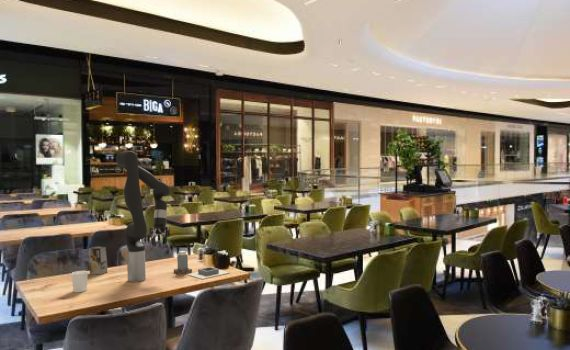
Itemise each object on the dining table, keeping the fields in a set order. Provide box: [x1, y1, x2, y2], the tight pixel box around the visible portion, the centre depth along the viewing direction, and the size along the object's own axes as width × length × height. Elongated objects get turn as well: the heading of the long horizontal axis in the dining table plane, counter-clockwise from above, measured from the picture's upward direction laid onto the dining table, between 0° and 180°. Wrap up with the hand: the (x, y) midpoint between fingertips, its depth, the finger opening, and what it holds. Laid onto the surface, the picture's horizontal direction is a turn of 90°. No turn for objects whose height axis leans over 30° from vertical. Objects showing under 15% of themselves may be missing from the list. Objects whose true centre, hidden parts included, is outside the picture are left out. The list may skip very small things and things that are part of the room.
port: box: [186, 266, 231, 280], centre depth 284 cm, size 20×16×3 cm
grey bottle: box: [176, 250, 189, 271], centre depth 290 cm, size 4×4×13 cm
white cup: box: [71, 270, 88, 293], centre depth 253 cm, size 8×8×10 cm
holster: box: [173, 267, 193, 275], centre depth 290 cm, size 8×8×2 cm
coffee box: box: [88, 246, 108, 275], centre depth 294 cm, size 9×6×16 cm
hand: (158, 244), depth 281 cm, fingers open, 8 cm apart
